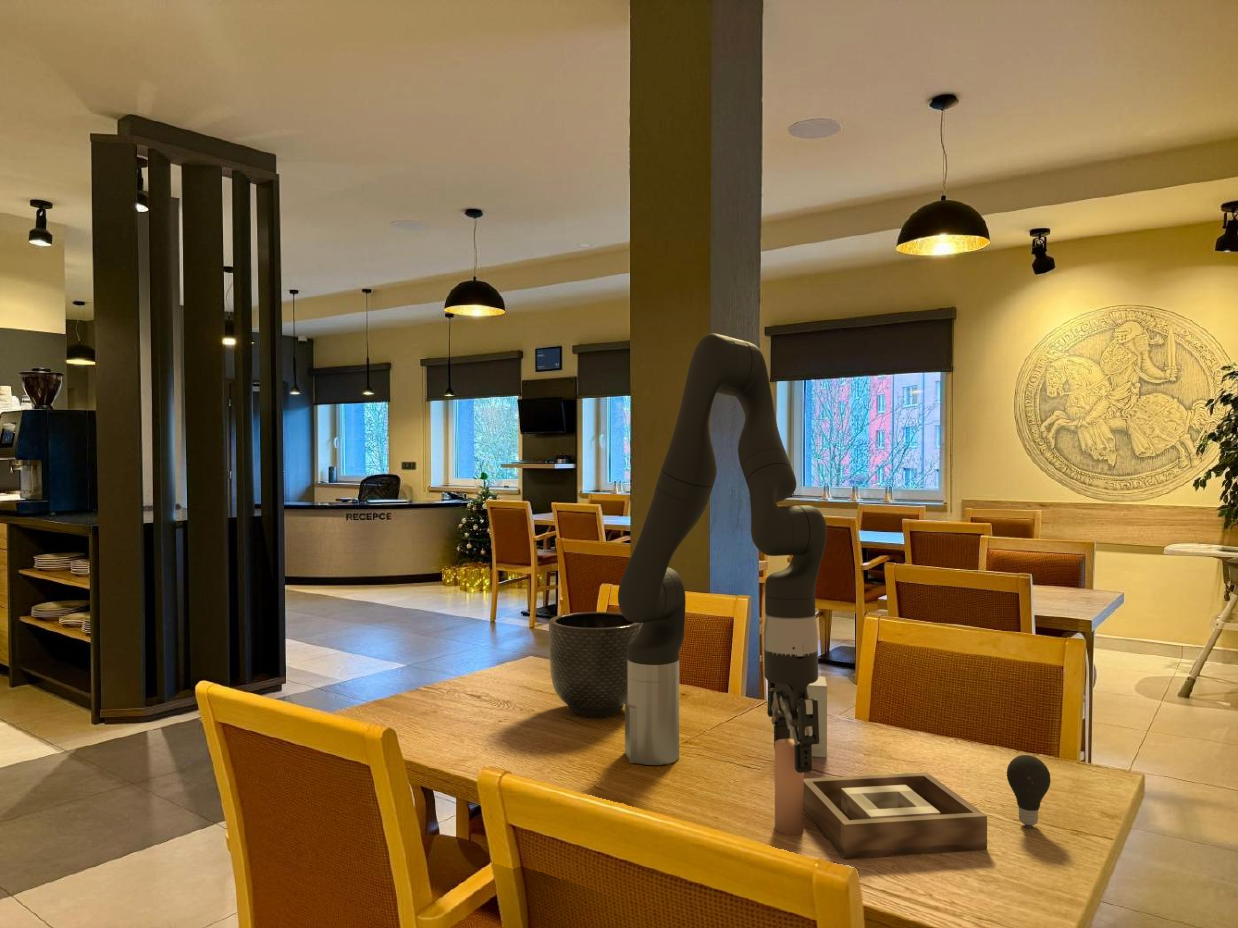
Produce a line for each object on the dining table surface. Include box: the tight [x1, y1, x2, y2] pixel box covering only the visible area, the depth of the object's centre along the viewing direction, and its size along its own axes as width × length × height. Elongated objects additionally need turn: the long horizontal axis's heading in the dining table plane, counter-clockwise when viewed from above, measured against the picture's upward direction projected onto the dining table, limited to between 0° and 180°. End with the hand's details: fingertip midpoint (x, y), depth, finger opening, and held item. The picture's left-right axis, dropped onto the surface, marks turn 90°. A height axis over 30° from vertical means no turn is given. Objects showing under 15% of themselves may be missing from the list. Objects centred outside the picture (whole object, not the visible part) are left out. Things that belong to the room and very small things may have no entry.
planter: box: [548, 611, 643, 719], centre depth 175 cm, size 20×20×19 cm
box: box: [804, 772, 988, 860], centre depth 118 cm, size 20×16×4 cm
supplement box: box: [790, 675, 828, 758], centre depth 151 cm, size 7×7×13 cm
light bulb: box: [1006, 754, 1052, 828], centre depth 119 cm, size 6×6×10 cm
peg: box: [774, 739, 805, 835], centre depth 118 cm, size 4×4×12 cm
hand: (792, 760), depth 118 cm, fingers open, 8 cm apart
